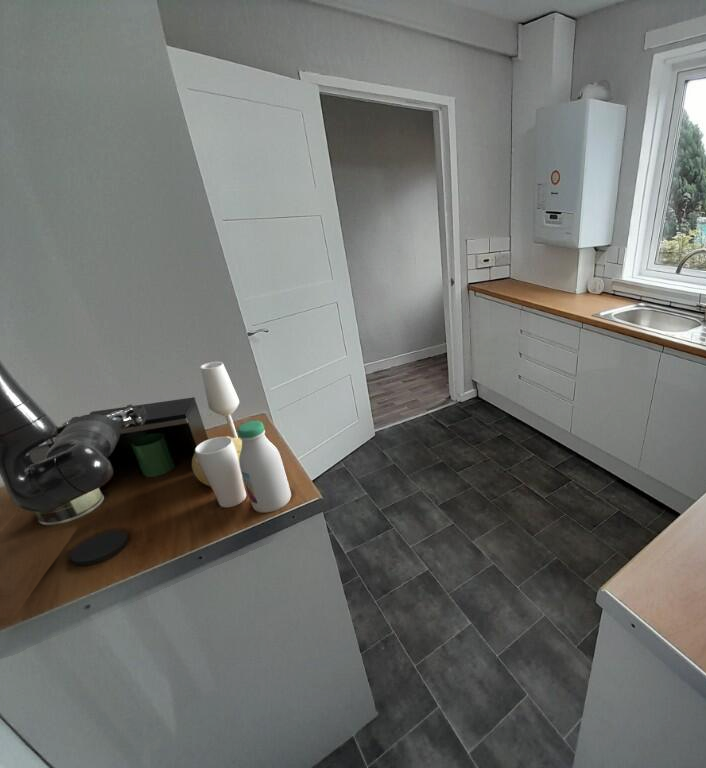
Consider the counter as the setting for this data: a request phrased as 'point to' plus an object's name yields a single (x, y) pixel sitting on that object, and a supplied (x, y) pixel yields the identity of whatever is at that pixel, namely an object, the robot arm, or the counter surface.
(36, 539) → the counter surface
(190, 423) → the cubby
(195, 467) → the yellow ball
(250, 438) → the milk bottle
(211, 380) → the champagne flute
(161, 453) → the pot
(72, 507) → the coffee can
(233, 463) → the drinking glass
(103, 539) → the dark round coaster
